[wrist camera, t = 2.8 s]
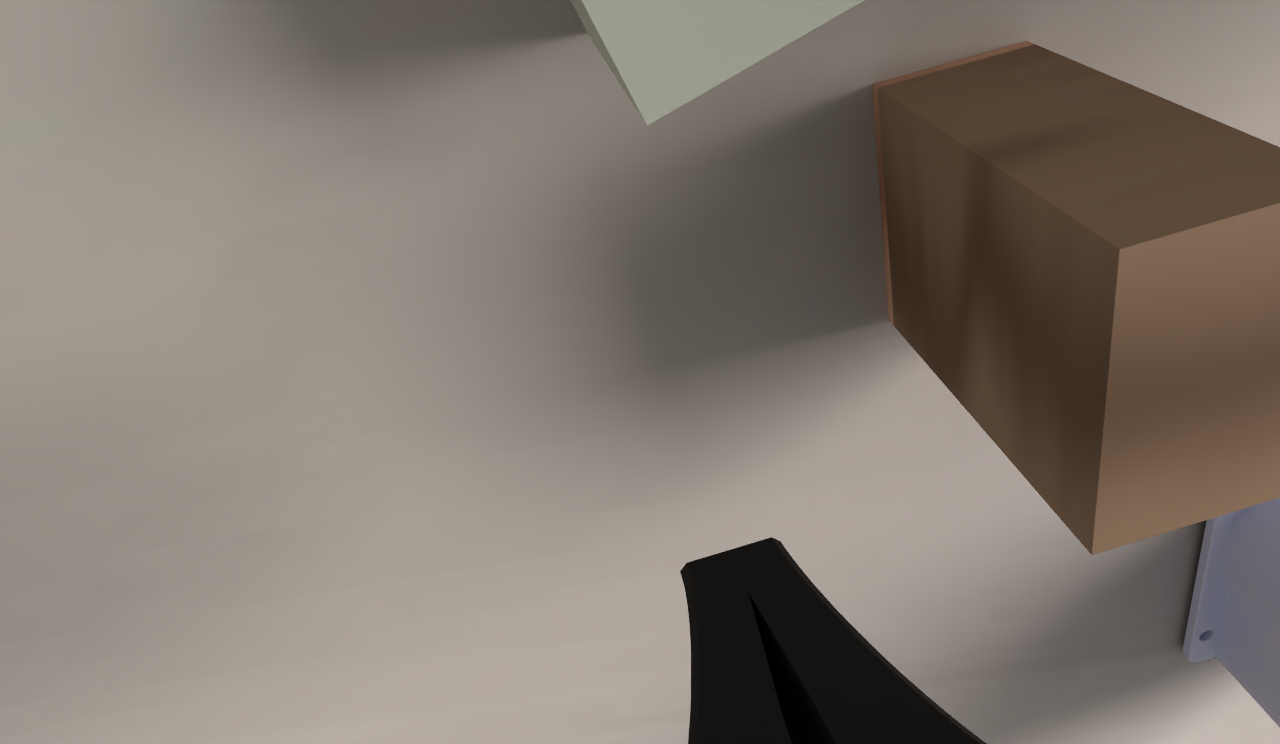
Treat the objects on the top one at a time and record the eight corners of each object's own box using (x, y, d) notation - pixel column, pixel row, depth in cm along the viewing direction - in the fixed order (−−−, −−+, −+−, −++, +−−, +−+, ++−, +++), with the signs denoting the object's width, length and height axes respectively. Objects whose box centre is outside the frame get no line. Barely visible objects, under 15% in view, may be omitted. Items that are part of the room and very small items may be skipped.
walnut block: (1021, 281, 23) (1280, 497, 16) (888, 319, 23) (1092, 555, 16) (1027, 41, 20) (1357, 180, 13) (872, 84, 20) (1119, 249, 13)
